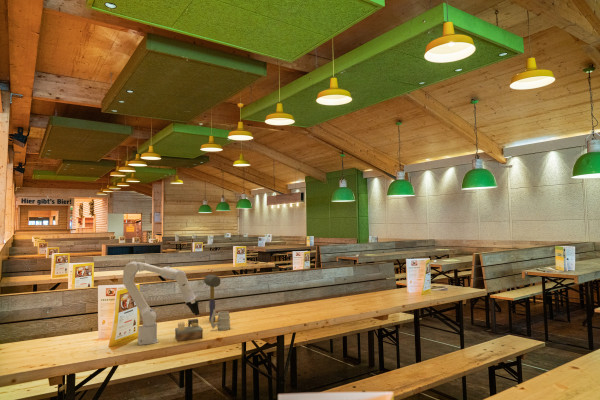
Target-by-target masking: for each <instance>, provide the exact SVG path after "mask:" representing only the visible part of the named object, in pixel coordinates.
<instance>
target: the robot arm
mask: <svg viewBox="0 0 600 400" xmlns="http://www.w3.org/2000/svg"><path fill="white" fill-rule="evenodd" d="M144 271H146V272H151V273H155V274H159V275H160V276H161V277H162V278H164V279H169V280H172V281H174V280H175V281H176V282H177V285H178V287H179V290H180V293H181V294H182V297H183V300H184V302H185V303H184V304H185V305H186V306H187V307H188V309H190V311H191V313H192V314H193V315H195V316H198V315H200V314H201V313H200V309H199V308H200V307H199V300H197V301H196V298H198V295H195V293H194V290H193V288H192V286H191V284H190V281H188V280H189V279H188V277H187V274H186V272H185V271H184V270H181V269H179V268H176V269H175V268H172V267H170V266H169V265H168V266H164V267H159V266H156V265H152V264H149V263H146V262H141V261H140V262H139V261H135V260H133V261H130V262H128V263H126V265H125V266H124V268H123V271H122V273H123V275H122V284H123V286H124V287H125V289H126V291H127V292H128V294H129V296H130V297H131V299H132V301H133V302H134V303H135V305H136V307H137V309H138V311H139V312H140V316H141V318H142V324H141V325H139V326H138V328H137V330H138V331H137V344H138V346H143V345H150V344H156V343H157V344H158V343H159V340H158V323H157V321H156V319H157V316H158V315H157V312H156V311H154V310H153V309H152V307H150V306H149V304H148V303H147V301H146V299H145V298H144V296H143V294H142V293H141V291H140V289H139V288H138V286H137V284H136V283H135V281H134V280H135V277H136V274H137V273H138V272H139V273H140V272H144Z"/></svg>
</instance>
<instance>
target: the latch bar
mask: <svg viewBox="0 0 600 400" xmlns="http://www.w3.org/2000/svg"><path fill="white" fill-rule="evenodd" d="M198 325H199V322H198V323H197V322H196V321H194V322H190V326H193V327H195V326H198Z"/></svg>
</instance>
